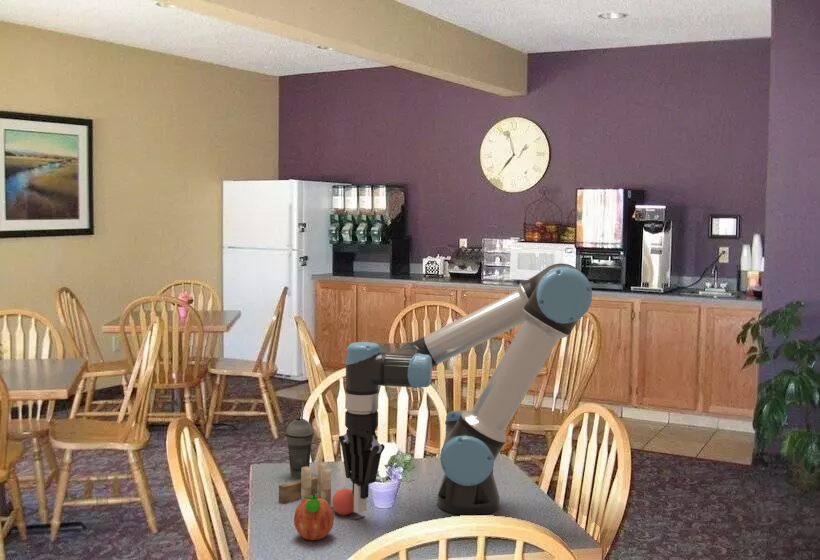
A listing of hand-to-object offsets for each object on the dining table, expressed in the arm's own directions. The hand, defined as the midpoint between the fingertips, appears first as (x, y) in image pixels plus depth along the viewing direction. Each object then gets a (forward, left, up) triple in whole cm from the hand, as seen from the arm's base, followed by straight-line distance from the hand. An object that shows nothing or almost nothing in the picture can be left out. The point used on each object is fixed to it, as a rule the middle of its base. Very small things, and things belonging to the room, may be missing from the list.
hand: (360, 510), depth 208 cm
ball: (+5, -2, +1) cm, 5 cm away
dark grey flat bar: (+5, -2, -2) cm, 6 cm away
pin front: (+11, -4, -2) cm, 12 cm away
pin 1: (+16, -3, -2) cm, 17 cm away
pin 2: (+15, -8, -2) cm, 17 cm away
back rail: (+20, -8, -2) cm, 22 cm away
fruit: (+4, +14, -2) cm, 15 cm away
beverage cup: (+29, -21, -2) cm, 36 cm away
